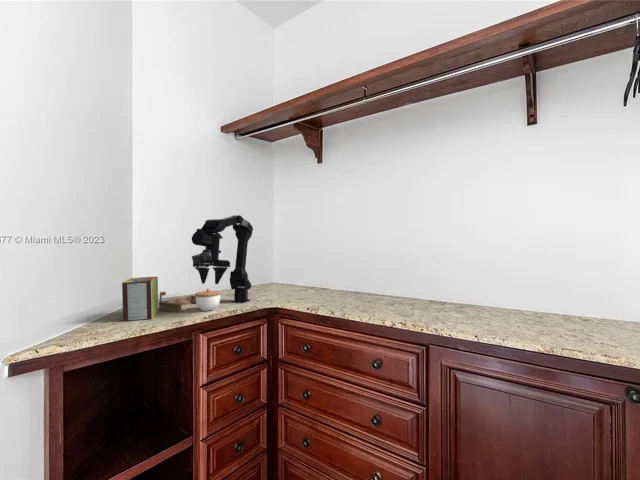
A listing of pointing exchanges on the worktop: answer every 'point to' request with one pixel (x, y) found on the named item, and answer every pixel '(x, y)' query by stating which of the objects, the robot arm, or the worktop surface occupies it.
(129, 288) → the protein box
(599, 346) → the worktop surface
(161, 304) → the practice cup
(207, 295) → the lidded jar
